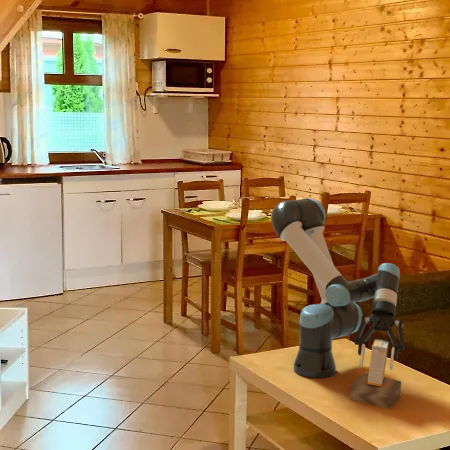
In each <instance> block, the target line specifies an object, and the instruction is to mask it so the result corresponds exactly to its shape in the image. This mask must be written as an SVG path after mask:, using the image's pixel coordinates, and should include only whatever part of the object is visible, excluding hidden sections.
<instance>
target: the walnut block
mask: <svg viewBox="0 0 450 450" xmlns="http://www.w3.org/2000/svg"><path fill="white" fill-rule="evenodd" d="M368 375H369V373H365V372H363V373H362V374H361V375H359V376H358V377H357V378H356V379H354V380H353V381H351V383H350V396H349V397H350V398H349V399H350V401H354V402H356V403H357V402H359V403H362V404H365V405H370V406H374V407H379V408H382V409H387V410H390V409H391V408H392V407H393V406H394V405H395V404H396V403H397V402H398V401H399V400H400V399H401V391H402V381H401V380H396V379H391V378H387V377H384V378H383V381H382V386H381V387H380V386H375V385H370V384H367V382H368Z"/></svg>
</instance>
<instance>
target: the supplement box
mask: <svg viewBox="0 0 450 450" xmlns="http://www.w3.org/2000/svg"><path fill="white" fill-rule="evenodd" d="M389 342H390V341H389V340H388V341H387V340H383V339H377V338H375V339H374V340H373V344H372V345H371V354H370V362H369V369H368V374H369V375H368V382H367V384H370V385H375V386H380V387H381V386H382V381H383V378H385V371H386V365H387V358H388V350H389Z"/></svg>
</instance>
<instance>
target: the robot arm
mask: <svg viewBox="0 0 450 450" xmlns="http://www.w3.org/2000/svg"><path fill="white" fill-rule="evenodd" d="M326 218H327V215H326V210H325V208H324V206H323V204H321V202H320V201H318V200H316V199H314V198H302V199H301V198H300V199H291V200H282V201H281V202H279V203H277V204H276V205H275V207H274V208H273V209H272V211H271V225H272V228H273V231H274V232H275V234H276V235H277V236H278V238H279V239H280V240H281V241H283V242H286V243H287V244H288V246H289V247H290V248H291V249H292V250H293V252H295V254H296V255H297V256H298V258H299V259H300V260H301V261H302V262H303V264H304V265H305V266H306V267H307V268H308V270H309V271H310V272H311V273H312V276H313V278H314V281H315V284H316V287H317V290H318V293H319V296H320V299H321V301H320V303H317V304H315V303H314V304H309V305H307V306H305V307H304V308H302V309H301V312H300V317H299V336H298V337H299V340H298V343H299V345H298V351H297V353H296V356H295V359H294V362H293V372H295V373H296V374H297V375H300V376H302V377H307V378H312V379H313V378H314V379H315V378H316V379H318V378H319V379H322V378H329V377H332V376H334V375H335V374H336V369H337V366H336V361H335V359H334V354H333V350H332V348H333V340H334V339H338V338H342V337H347V336H350V335H352V334H354V333H356V334H355V336H354V338H353V342H354V345H355V346H357V347H358V349H357V354H358V356H360V358H359V366H360V367H363V365H364V358H365V352H366V343H367V342H368V341H369V339H370V338H371V336H372V335H373V334H374V333H375V332H376V331H378V332H379V331H381V332H387V335H388V337H389V340H390V341H391V344H392V347H391V351H390V352H391V353H390V362H389V370H390V371H393V369H394V361H397V360H398V357H399V351H405V340H404V333H403V332H404V331H403V328H404V320H402V319H400V320H397V319H395V318H396V317H395V315H396V309H397V308H396V307H397V300H398V292H399V286H400V285H399V284H400V280H401V278H400V277H401V276H400V275H401V270H400V268H399V267H398V266H397V265H396V264H394V263H390V262H384V263H381V264H380V265H379V266H378V269H377V272H376V273H374V274H371V275H370V276H367V277H364V278H359V279H354V280H350V281H347V280H346V279H345V277H344V276H343V275H342V274H341V273H340V271H339V270H338V269H337V268H336V266H335V265H334V263H333V260H332V256H331V253H330V251H329V247H328V245H327V243H326V240H325V237H324V234H323V233H324V230H325V225H324V224H325V222H326ZM371 299H373V304H372V310H371V315H370V316H367V317H365V315H363V312H362V308H361V307H360V306H359V305H358V304H357V303H361V302H366V301H369V300H371ZM369 322H370V327H369V328H368V329H367V331H366V332H365V333H364V330H365V328H366V325H367V324H368V323H369ZM395 325H396V328H398V339H399V344H398V342H397V339H396V337H395V334H394V332H393V328H392V327H393V326H395ZM363 333H364V334H363ZM362 335H363V336H362Z"/></svg>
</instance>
